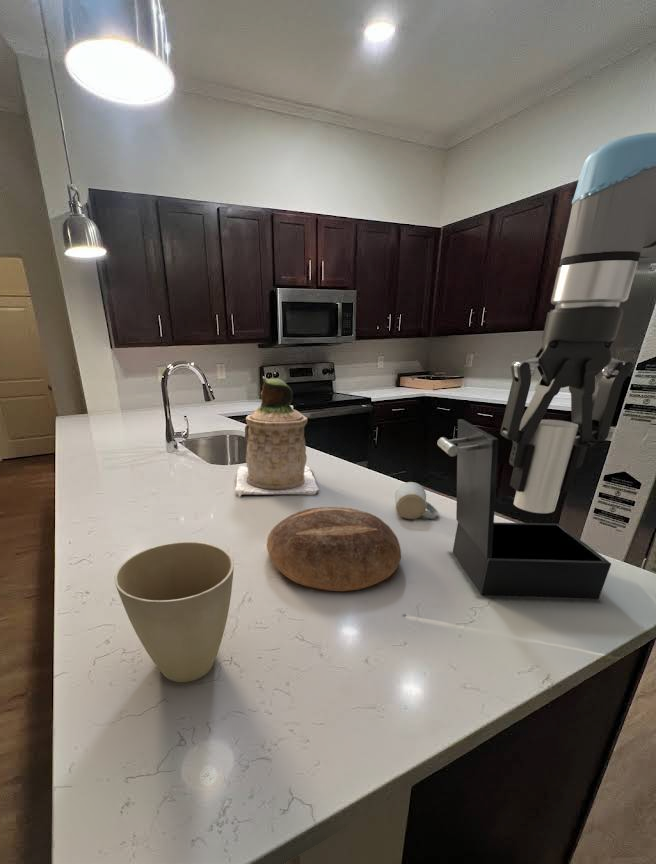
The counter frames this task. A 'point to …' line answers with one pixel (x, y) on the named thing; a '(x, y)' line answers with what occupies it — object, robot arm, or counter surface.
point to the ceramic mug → (413, 502)
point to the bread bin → (533, 562)
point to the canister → (547, 466)
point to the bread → (334, 548)
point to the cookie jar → (275, 447)
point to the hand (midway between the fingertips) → (538, 488)
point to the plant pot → (178, 604)
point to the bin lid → (475, 482)
